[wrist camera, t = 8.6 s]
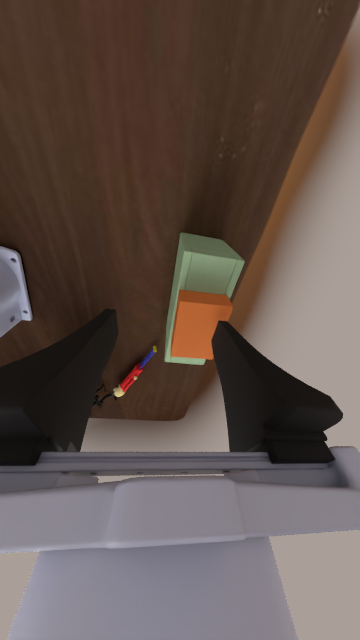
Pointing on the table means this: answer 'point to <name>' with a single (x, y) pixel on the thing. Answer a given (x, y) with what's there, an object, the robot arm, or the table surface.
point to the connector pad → (197, 323)
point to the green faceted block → (201, 277)
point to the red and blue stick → (131, 376)
